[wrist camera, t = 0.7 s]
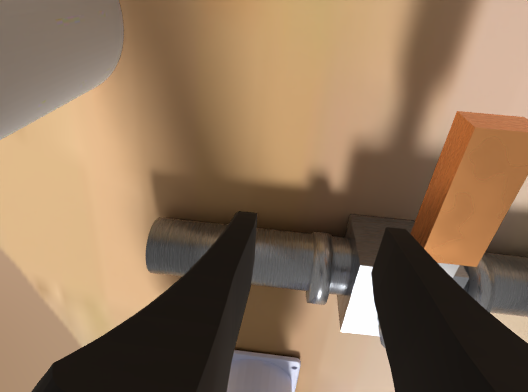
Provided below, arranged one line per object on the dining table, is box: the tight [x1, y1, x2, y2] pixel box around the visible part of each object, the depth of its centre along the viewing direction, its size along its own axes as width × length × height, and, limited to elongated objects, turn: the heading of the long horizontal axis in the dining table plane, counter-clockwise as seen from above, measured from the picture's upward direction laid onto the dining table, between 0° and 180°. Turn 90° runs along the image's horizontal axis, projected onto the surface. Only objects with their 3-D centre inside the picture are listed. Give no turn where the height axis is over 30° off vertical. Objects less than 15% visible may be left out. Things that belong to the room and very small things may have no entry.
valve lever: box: [376, 111, 528, 348], centre depth 16 cm, size 13×3×2 cm, turn 177°
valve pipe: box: [146, 214, 528, 336], centre depth 21 cm, size 6×30×5 cm, turn 87°
